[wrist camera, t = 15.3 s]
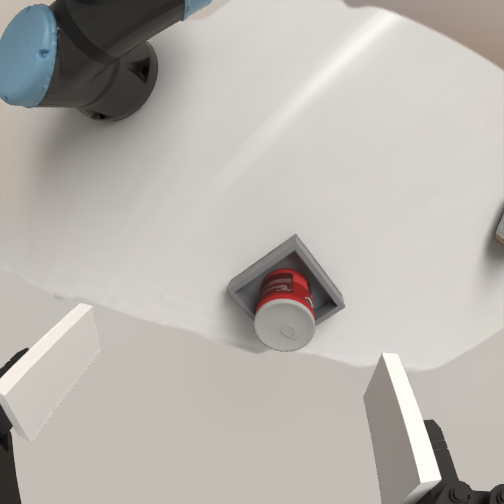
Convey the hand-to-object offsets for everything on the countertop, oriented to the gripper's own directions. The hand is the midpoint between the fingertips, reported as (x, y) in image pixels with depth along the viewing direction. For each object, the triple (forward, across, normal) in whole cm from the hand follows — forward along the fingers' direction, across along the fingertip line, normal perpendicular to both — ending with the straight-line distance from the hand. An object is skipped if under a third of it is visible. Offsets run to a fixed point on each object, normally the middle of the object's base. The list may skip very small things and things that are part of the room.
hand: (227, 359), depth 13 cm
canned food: (+34, +4, -13) cm, 37 cm away
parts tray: (+35, +4, -13) cm, 37 cm away
